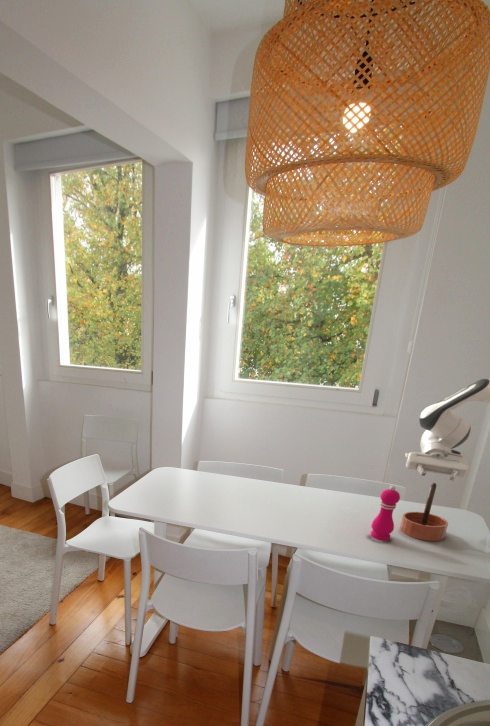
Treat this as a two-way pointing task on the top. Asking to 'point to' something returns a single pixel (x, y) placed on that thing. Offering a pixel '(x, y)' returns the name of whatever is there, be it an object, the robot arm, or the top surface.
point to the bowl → (423, 526)
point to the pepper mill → (385, 515)
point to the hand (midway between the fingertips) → (437, 476)
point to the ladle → (428, 504)
